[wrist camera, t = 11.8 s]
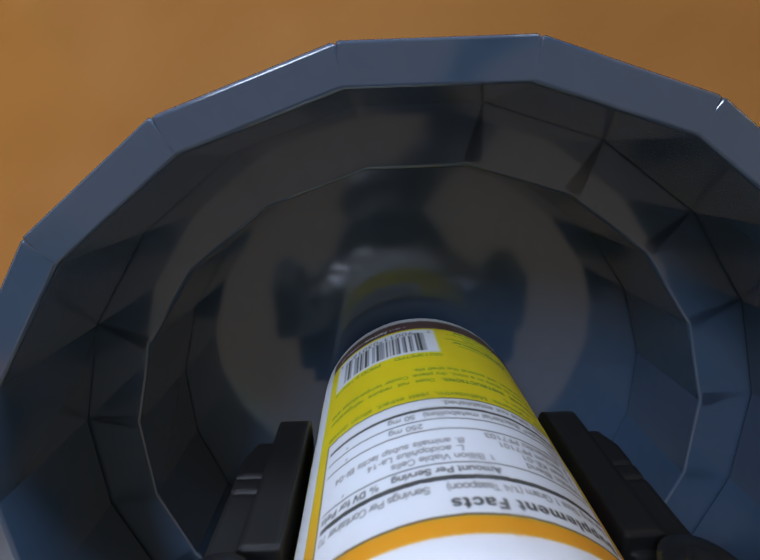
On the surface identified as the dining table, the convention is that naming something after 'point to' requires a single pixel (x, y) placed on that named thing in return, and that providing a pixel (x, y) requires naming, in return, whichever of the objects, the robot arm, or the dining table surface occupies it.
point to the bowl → (385, 280)
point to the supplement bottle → (438, 459)
